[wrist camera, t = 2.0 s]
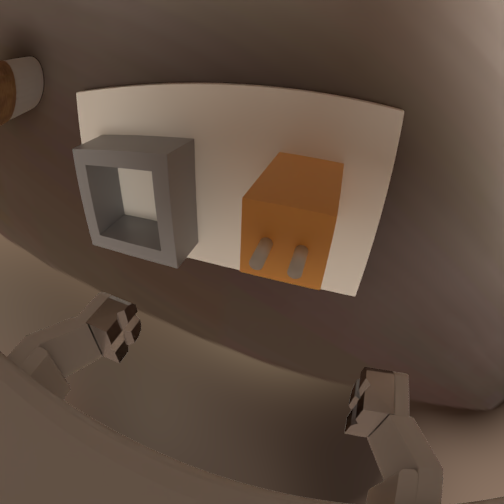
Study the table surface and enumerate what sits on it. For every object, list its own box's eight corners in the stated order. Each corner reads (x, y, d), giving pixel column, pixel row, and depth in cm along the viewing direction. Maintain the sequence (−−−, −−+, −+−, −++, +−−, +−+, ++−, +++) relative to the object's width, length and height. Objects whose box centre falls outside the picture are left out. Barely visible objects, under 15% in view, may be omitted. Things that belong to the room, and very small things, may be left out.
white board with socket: (84, 90, 20) (44, 102, 17) (401, 109, 15) (416, 122, 12) (105, 229, 29) (77, 254, 25) (355, 288, 24) (352, 330, 20)
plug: (279, 151, 18) (228, 215, 12) (344, 163, 18) (334, 237, 11) (274, 208, 21) (228, 292, 14) (333, 220, 20) (314, 314, 13)
